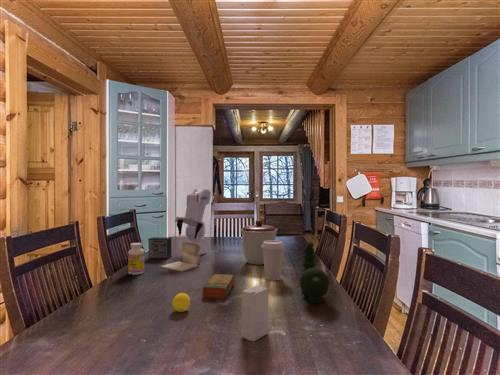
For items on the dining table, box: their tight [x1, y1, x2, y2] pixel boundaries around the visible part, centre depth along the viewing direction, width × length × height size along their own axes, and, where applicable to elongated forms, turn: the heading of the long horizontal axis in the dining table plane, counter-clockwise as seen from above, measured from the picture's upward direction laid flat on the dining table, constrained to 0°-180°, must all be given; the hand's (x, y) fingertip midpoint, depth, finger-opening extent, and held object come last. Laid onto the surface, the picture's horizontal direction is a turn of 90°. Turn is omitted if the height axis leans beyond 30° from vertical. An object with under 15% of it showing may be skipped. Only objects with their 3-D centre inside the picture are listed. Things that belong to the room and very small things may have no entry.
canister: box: [240, 219, 278, 266], centre depth 163 cm, size 18×18×21 cm
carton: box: [202, 273, 235, 300], centre depth 121 cm, size 8×16×4 cm, turn 173°
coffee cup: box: [261, 239, 285, 281], centre depth 136 cm, size 10×10×15 cm
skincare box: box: [241, 285, 269, 342], centre depth 85 cm, size 6×4×12 cm
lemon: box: [171, 292, 191, 313], centre depth 102 cm, size 7×5×5 cm
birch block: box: [181, 241, 201, 265], centre depth 162 cm, size 4×8×10 cm, turn 57°
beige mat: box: [160, 260, 199, 272], centre depth 155 cm, size 11×13×1 cm
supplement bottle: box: [127, 242, 145, 276], centre depth 145 cm, size 7×7×13 cm
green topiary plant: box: [299, 241, 330, 304], centre depth 115 cm, size 9×19×25 cm
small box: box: [147, 236, 173, 260], centre depth 174 cm, size 11×6×10 cm, turn 84°
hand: (187, 236), depth 163 cm, fingers open, 7 cm apart
